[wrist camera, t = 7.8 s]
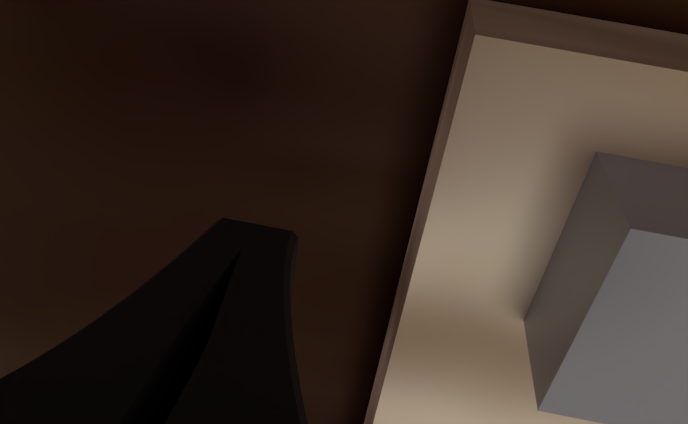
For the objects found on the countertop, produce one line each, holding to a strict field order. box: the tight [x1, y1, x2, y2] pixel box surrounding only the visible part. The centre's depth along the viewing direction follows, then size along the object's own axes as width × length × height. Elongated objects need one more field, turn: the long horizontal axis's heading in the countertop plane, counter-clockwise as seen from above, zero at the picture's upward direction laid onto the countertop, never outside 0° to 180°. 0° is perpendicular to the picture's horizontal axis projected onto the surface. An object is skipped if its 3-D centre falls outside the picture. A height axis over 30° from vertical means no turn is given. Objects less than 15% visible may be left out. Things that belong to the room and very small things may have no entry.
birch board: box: [364, 0, 688, 424], centre depth 16 cm, size 16×10×2 cm, turn 172°
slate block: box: [524, 152, 688, 424], centre depth 11 cm, size 4×4×2 cm
